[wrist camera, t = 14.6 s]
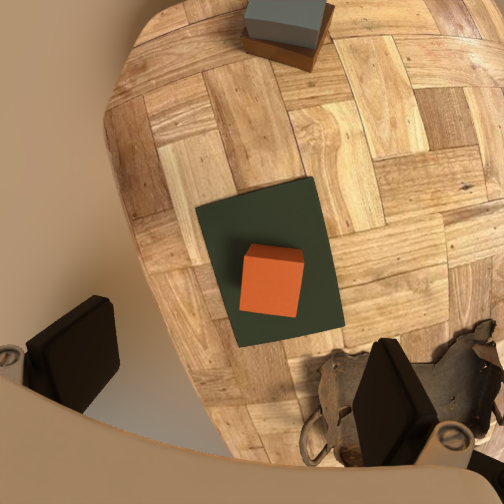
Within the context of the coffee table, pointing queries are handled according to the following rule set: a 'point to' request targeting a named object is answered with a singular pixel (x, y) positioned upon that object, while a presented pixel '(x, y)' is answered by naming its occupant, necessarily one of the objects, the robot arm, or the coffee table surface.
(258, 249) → the top cube
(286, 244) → the mat
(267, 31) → the middle block
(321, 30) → the bottom block
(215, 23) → the coffee table surface
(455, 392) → the rusty handled basin
